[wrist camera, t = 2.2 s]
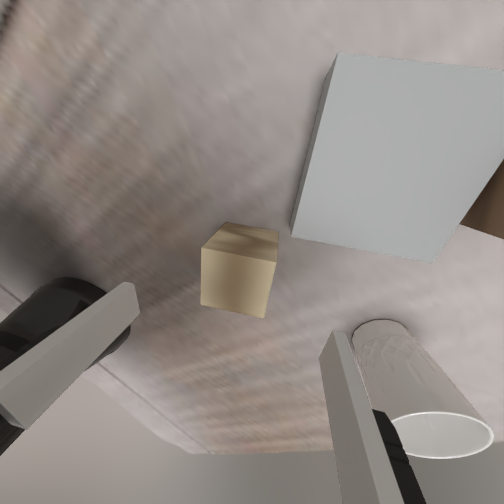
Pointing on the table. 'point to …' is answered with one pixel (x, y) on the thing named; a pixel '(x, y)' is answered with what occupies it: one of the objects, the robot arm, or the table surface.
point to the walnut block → (489, 207)
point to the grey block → (398, 154)
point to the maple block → (238, 269)
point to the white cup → (417, 394)
